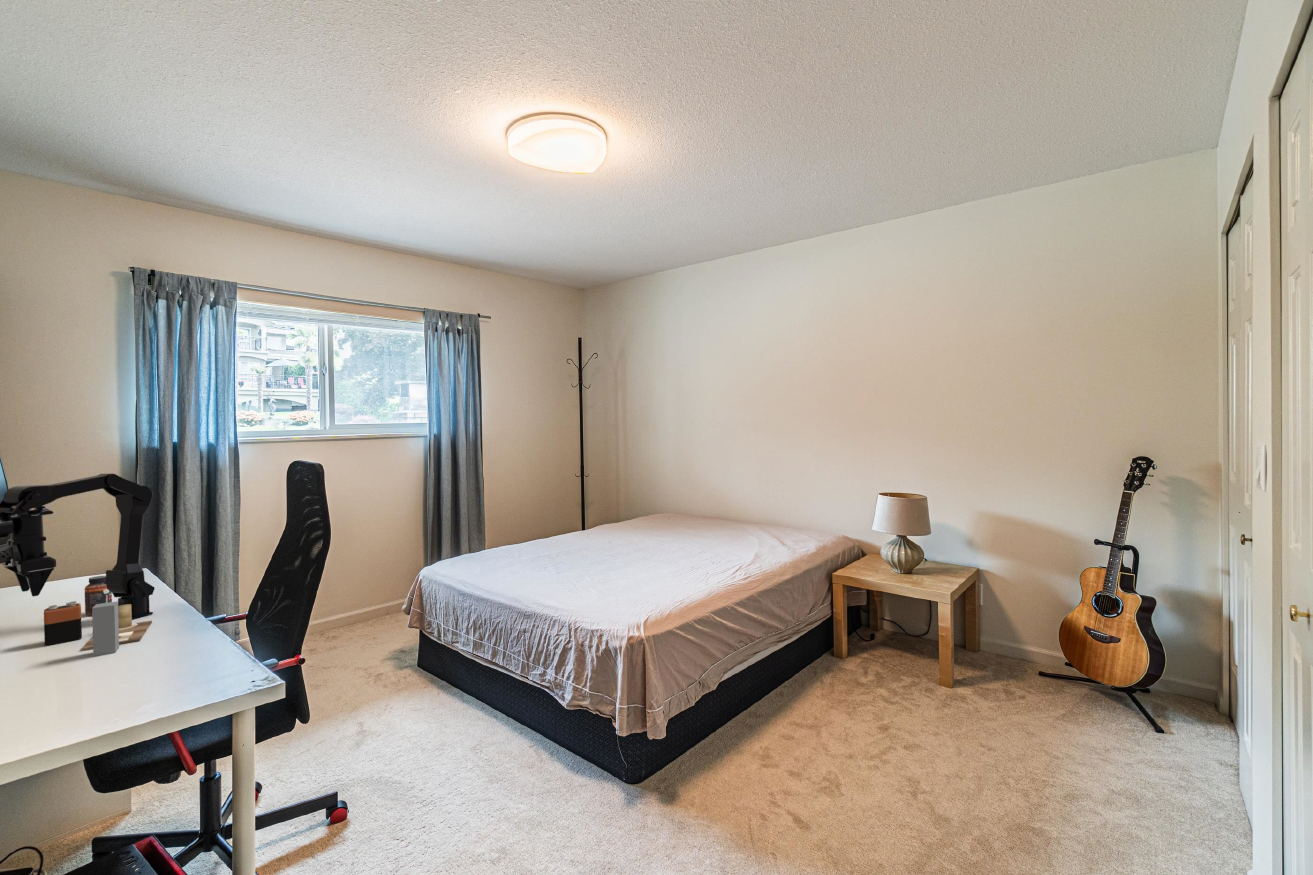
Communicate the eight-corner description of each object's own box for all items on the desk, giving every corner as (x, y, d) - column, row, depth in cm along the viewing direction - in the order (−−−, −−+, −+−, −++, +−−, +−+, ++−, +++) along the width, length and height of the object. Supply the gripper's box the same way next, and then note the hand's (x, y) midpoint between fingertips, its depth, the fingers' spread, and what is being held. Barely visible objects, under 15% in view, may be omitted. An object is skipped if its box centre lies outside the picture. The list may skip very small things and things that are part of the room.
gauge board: (99, 630, 158) (99, 607, 158) (152, 622, 164) (151, 599, 164) (81, 650, 143) (80, 624, 142) (139, 641, 149) (138, 616, 149)
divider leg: (97, 651, 142) (96, 604, 142) (119, 647, 144) (117, 601, 144) (93, 656, 139) (92, 608, 139) (115, 652, 141) (114, 605, 141)
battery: (82, 639, 151) (80, 602, 151) (44, 646, 146) (43, 608, 146) (81, 635, 154) (80, 599, 154) (44, 642, 149) (43, 605, 149)
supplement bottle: (115, 612, 175) (114, 575, 175) (88, 617, 170) (87, 580, 170) (108, 609, 178) (107, 573, 178) (82, 614, 173) (81, 577, 173)
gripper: (-30, 536, 144) (-27, 597, 144) (-12, 543, 135) (-8, 607, 135) (34, 529, 154) (37, 585, 154) (55, 534, 144) (58, 595, 145)
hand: (30, 593), depth 147 cm, fingers open, 9 cm apart
